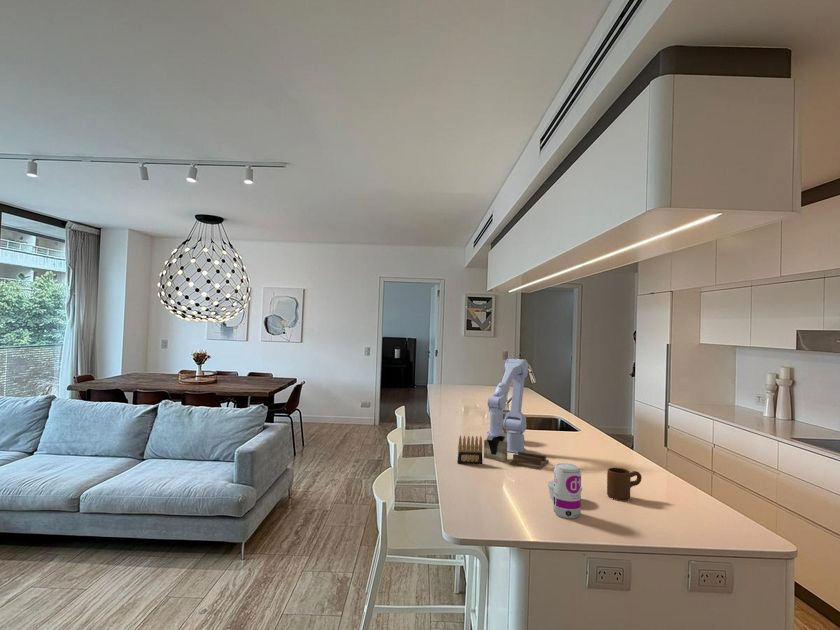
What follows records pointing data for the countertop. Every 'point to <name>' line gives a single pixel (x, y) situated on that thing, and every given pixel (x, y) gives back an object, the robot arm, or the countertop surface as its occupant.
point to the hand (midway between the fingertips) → (495, 453)
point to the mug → (621, 483)
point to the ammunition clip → (470, 451)
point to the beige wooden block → (500, 453)
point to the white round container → (551, 489)
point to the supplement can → (567, 490)
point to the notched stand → (529, 460)
